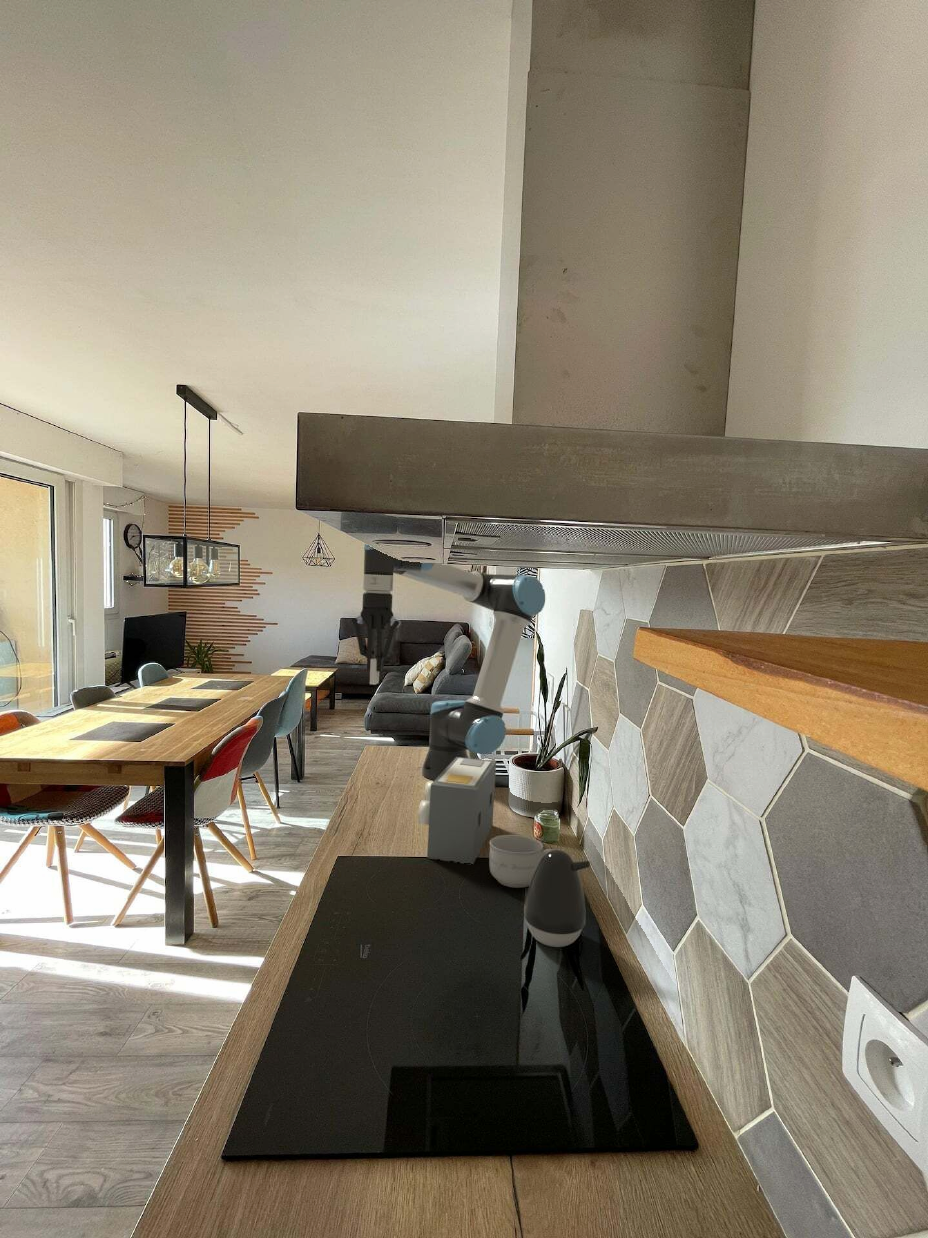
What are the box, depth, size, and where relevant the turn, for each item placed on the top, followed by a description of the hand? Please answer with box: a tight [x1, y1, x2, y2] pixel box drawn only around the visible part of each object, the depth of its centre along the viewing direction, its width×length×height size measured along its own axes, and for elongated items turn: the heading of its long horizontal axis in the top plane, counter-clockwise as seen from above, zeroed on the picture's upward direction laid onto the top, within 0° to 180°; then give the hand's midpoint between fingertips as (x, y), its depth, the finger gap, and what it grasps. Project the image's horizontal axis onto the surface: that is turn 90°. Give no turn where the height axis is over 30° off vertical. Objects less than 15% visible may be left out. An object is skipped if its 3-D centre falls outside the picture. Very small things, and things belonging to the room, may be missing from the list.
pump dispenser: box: [524, 848, 591, 948], centre depth 110 cm, size 10×10×15 cm
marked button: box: [417, 799, 430, 826], centre depth 144 cm, size 5×8×5 cm, turn 77°
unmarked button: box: [423, 780, 434, 801], centre depth 158 cm, size 5×8×5 cm, turn 77°
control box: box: [426, 757, 497, 865], centre depth 150 cm, size 24×10×16 cm, turn 167°
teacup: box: [488, 834, 553, 889], centre depth 130 cm, size 14×11×8 cm
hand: (374, 683), depth 168 cm, fingers closed
